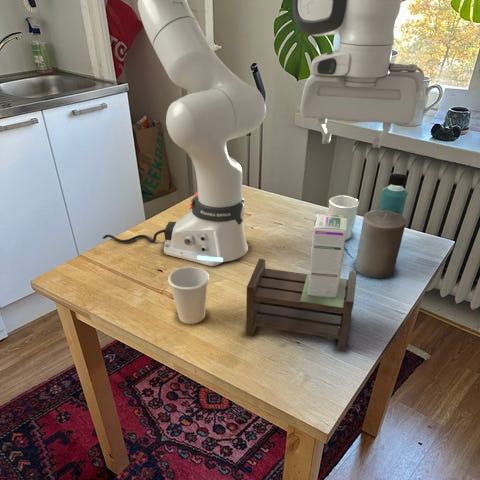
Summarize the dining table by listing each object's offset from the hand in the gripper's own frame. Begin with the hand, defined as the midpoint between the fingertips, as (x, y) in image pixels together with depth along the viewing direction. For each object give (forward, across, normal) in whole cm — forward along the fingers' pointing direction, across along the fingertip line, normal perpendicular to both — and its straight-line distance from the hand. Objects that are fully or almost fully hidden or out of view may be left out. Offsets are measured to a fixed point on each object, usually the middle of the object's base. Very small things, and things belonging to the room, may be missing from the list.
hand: (351, 144), depth 86 cm
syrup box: (+23, +1, +16) cm, 28 cm away
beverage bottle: (+33, -12, -24) cm, 43 cm away
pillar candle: (+33, -10, -12) cm, 37 cm away
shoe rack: (+33, +5, +16) cm, 37 cm away
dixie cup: (+33, +28, +18) cm, 47 cm away
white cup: (+33, 0, -28) cm, 44 cm away
